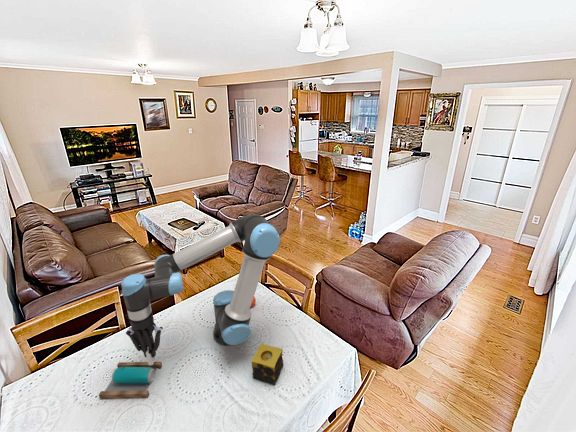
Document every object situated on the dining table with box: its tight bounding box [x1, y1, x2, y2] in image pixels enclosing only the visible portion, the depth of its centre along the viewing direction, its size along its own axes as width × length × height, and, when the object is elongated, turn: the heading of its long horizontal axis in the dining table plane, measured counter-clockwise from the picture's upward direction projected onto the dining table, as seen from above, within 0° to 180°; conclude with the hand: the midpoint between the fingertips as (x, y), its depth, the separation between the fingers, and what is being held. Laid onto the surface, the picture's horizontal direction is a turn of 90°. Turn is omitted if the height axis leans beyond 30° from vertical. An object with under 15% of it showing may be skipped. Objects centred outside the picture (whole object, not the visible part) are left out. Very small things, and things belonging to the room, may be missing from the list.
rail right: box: [116, 361, 163, 370], centre depth 121 cm, size 18×2×2 cm, turn 91°
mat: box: [104, 369, 157, 391], centre depth 115 cm, size 16×11×1 cm
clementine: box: [250, 296, 256, 308], centre depth 156 cm, size 8×7×7 cm
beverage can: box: [111, 367, 156, 384], centre depth 114 cm, size 6×6×15 cm
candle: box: [251, 343, 284, 386], centre depth 117 cm, size 10×10×10 cm
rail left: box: [98, 389, 150, 400], centre depth 109 cm, size 18×2×2 cm, turn 91°
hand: (152, 362), depth 111 cm, fingers closed
